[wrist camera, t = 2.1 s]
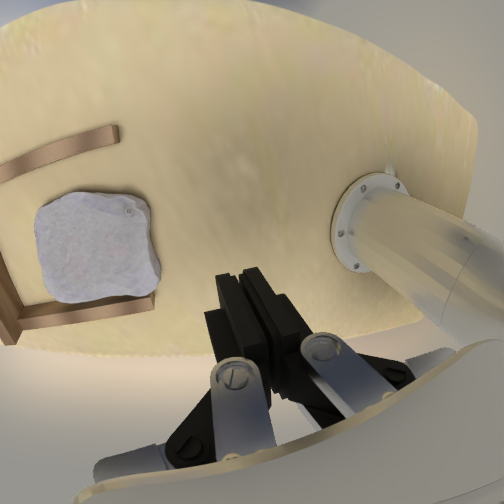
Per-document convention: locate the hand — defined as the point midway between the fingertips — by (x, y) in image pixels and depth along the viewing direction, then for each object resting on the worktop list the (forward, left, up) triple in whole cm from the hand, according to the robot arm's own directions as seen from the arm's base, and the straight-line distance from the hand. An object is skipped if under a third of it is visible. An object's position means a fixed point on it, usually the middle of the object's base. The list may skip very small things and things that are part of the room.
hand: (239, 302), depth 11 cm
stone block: (+10, +1, -16) cm, 19 cm away
